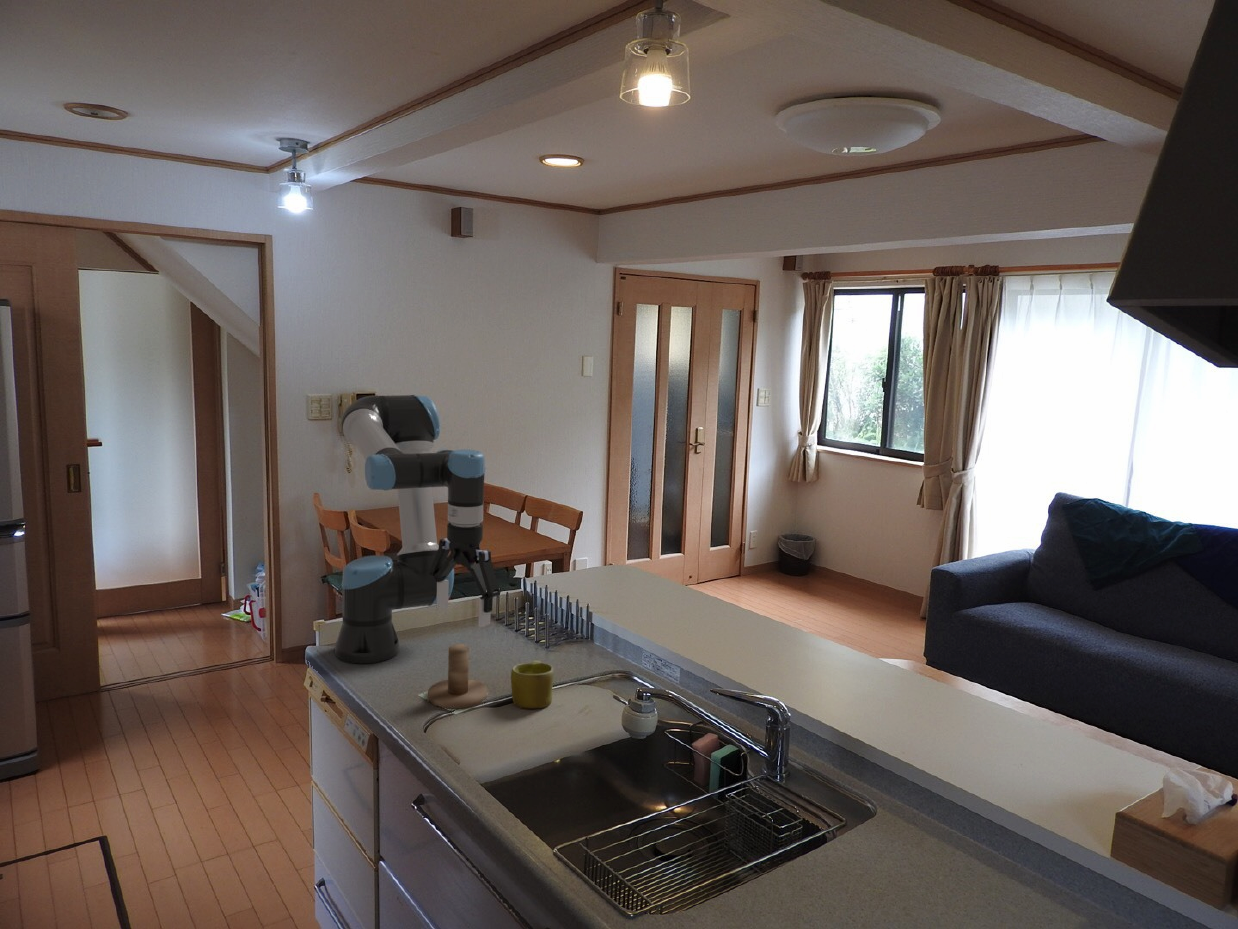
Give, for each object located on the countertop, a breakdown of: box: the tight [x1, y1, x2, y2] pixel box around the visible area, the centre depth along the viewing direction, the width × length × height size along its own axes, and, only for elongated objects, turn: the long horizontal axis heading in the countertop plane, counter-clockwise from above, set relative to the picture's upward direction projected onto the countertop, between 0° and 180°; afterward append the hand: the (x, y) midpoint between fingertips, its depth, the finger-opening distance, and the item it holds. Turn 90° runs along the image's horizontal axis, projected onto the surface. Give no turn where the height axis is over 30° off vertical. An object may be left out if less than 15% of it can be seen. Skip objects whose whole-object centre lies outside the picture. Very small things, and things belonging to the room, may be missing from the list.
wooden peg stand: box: [427, 643, 489, 709], centre depth 192 cm, size 13×13×11 cm
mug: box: [510, 660, 555, 710], centre depth 193 cm, size 12×10×10 cm
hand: (462, 617), depth 190 cm, fingers open, 13 cm apart
